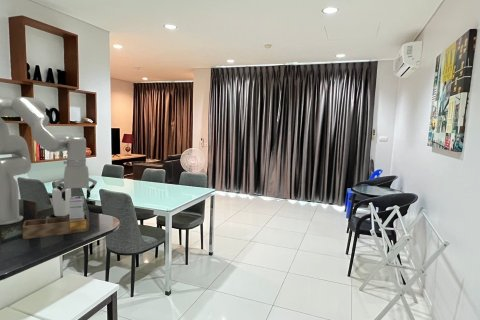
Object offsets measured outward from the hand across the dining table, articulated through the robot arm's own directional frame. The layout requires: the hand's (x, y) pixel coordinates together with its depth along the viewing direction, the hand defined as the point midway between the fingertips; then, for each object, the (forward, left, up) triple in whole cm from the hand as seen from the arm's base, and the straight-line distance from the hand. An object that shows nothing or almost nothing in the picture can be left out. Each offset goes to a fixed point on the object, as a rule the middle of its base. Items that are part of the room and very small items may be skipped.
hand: (76, 199), depth 140 cm
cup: (-17, +19, -15) cm, 30 cm away
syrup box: (0, 0, -14) cm, 14 cm away
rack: (-6, -4, -15) cm, 17 cm away
